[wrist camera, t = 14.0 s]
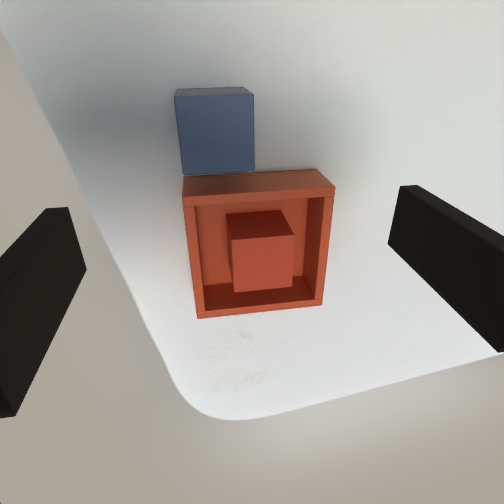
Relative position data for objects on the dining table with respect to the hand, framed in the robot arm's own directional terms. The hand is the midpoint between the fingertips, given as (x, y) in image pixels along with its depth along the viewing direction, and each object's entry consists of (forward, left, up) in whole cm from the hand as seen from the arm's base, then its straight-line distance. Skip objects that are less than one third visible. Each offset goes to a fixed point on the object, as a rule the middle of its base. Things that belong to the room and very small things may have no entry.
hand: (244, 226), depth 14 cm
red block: (+9, +3, -16) cm, 18 cm away
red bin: (+9, +3, -16) cm, 18 cm away
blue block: (-1, 0, -16) cm, 16 cm away
